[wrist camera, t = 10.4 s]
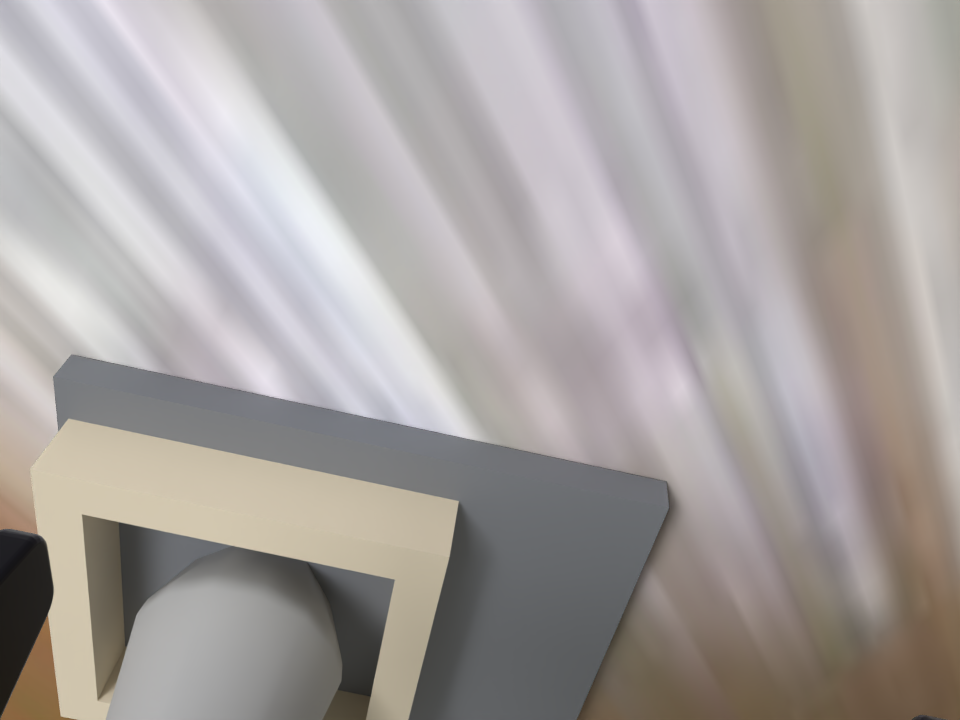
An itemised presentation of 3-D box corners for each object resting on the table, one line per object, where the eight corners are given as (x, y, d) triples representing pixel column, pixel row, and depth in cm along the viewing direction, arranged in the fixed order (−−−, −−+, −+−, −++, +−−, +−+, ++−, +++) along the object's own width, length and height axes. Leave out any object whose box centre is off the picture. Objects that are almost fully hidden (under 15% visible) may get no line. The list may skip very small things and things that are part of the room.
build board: (666, 481, 24) (675, 565, 22) (551, 751, 32) (548, 837, 29) (71, 354, 24) (12, 426, 21) (96, 658, 31) (54, 737, 29)
